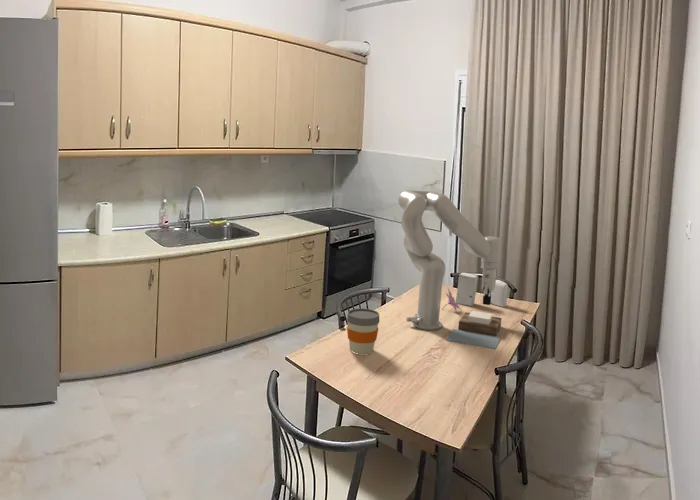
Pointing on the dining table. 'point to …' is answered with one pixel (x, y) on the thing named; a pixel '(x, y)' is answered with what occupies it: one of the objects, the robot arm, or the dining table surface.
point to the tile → (480, 317)
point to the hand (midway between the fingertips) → (486, 304)
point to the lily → (452, 301)
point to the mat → (473, 338)
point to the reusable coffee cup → (362, 330)
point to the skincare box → (466, 289)
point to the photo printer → (499, 294)
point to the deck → (480, 326)
